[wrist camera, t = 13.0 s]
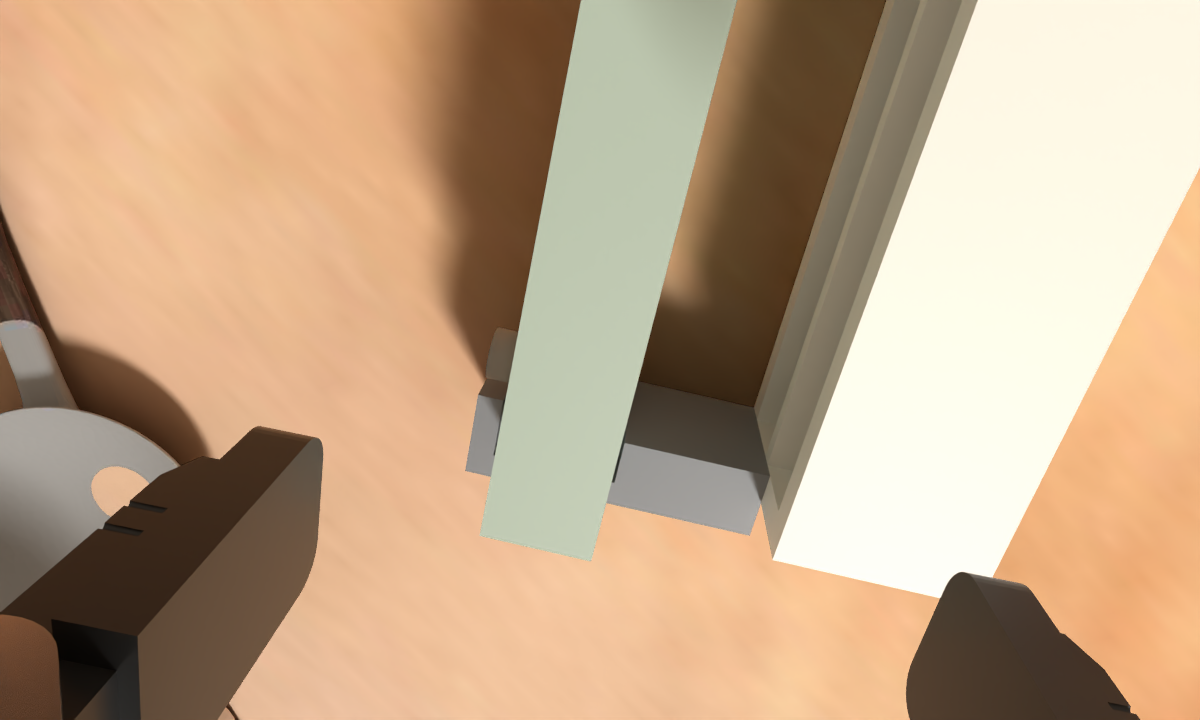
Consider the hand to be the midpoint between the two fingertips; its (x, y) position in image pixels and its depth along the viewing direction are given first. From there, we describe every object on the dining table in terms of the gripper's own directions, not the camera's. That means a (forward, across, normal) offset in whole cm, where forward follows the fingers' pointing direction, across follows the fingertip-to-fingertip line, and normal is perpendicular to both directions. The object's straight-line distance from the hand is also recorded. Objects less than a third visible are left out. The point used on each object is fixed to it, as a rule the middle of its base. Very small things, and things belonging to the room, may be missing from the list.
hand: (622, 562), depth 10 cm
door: (+19, +1, -4) cm, 19 cm away
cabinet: (+19, -4, -4) cm, 19 cm away
